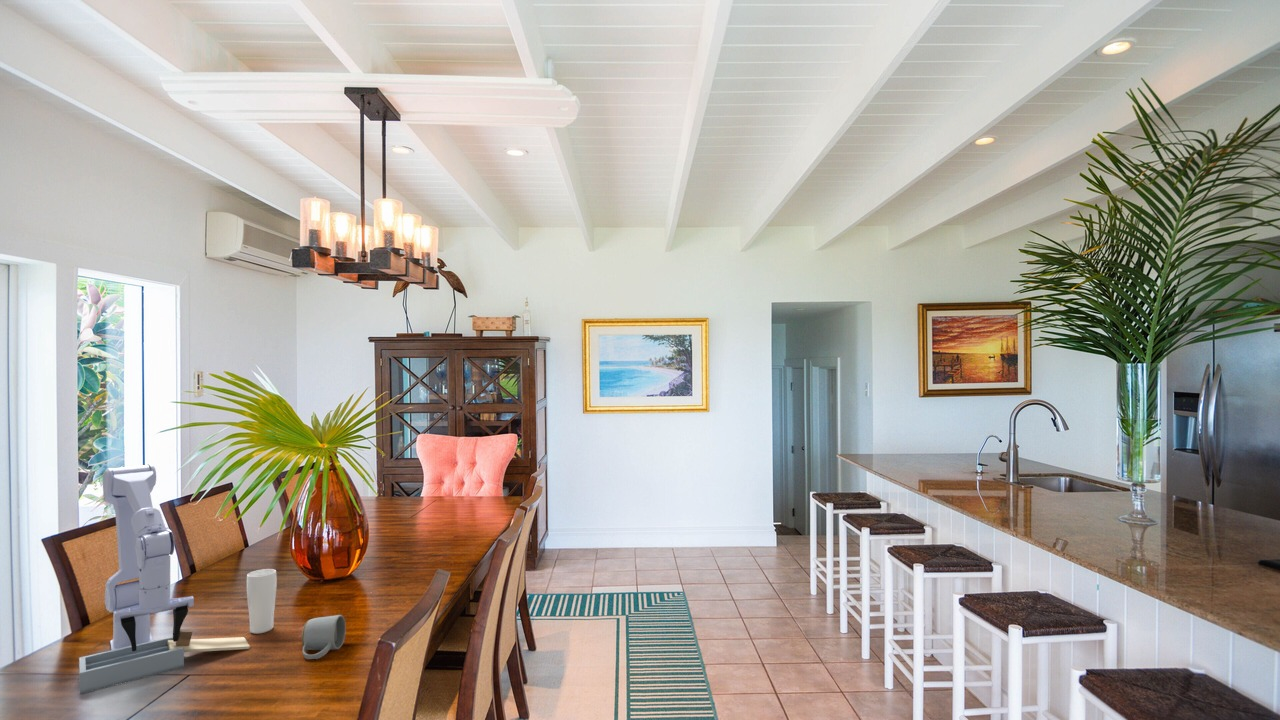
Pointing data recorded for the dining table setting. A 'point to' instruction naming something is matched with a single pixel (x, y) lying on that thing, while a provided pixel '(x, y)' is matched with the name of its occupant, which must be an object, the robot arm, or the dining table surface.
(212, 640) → the cover plate
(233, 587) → the dining table surface
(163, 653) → the box
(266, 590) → the drinking glass
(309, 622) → the ceramic mug
